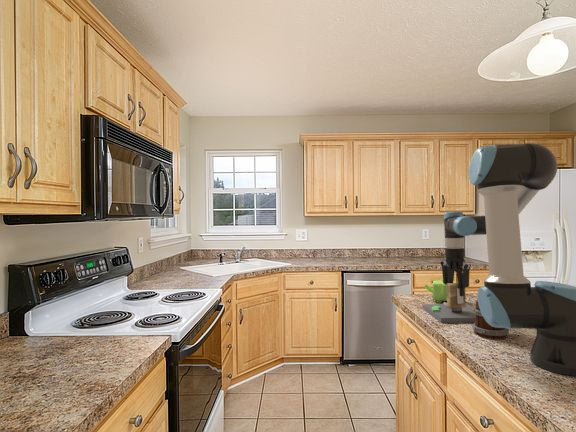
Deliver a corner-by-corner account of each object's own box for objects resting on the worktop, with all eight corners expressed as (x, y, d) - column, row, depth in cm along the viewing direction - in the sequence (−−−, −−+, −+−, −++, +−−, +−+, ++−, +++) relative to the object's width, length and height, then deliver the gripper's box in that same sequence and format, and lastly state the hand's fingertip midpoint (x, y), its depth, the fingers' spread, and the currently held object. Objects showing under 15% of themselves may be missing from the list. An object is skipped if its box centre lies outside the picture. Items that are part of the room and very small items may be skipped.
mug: (462, 329, 131) (467, 290, 131) (495, 332, 134) (499, 293, 134) (485, 340, 119) (491, 296, 120) (520, 343, 122) (525, 300, 123)
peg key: (467, 311, 148) (466, 283, 148) (451, 313, 147) (451, 284, 147) (451, 305, 158) (450, 279, 158) (437, 306, 157) (436, 280, 158)
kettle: (468, 302, 170) (467, 280, 170) (446, 306, 165) (446, 283, 165) (443, 296, 184) (443, 275, 184) (423, 300, 178) (422, 278, 178)
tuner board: (492, 322, 140) (491, 315, 140) (441, 323, 141) (440, 316, 141) (466, 307, 161) (466, 301, 161) (422, 308, 163) (422, 302, 163)
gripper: (478, 248, 143) (480, 305, 143) (444, 245, 158) (446, 297, 158) (465, 249, 140) (467, 307, 140) (432, 246, 155) (434, 299, 155)
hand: (456, 302), depth 149 cm, fingers closed on peg key, 3 cm apart
